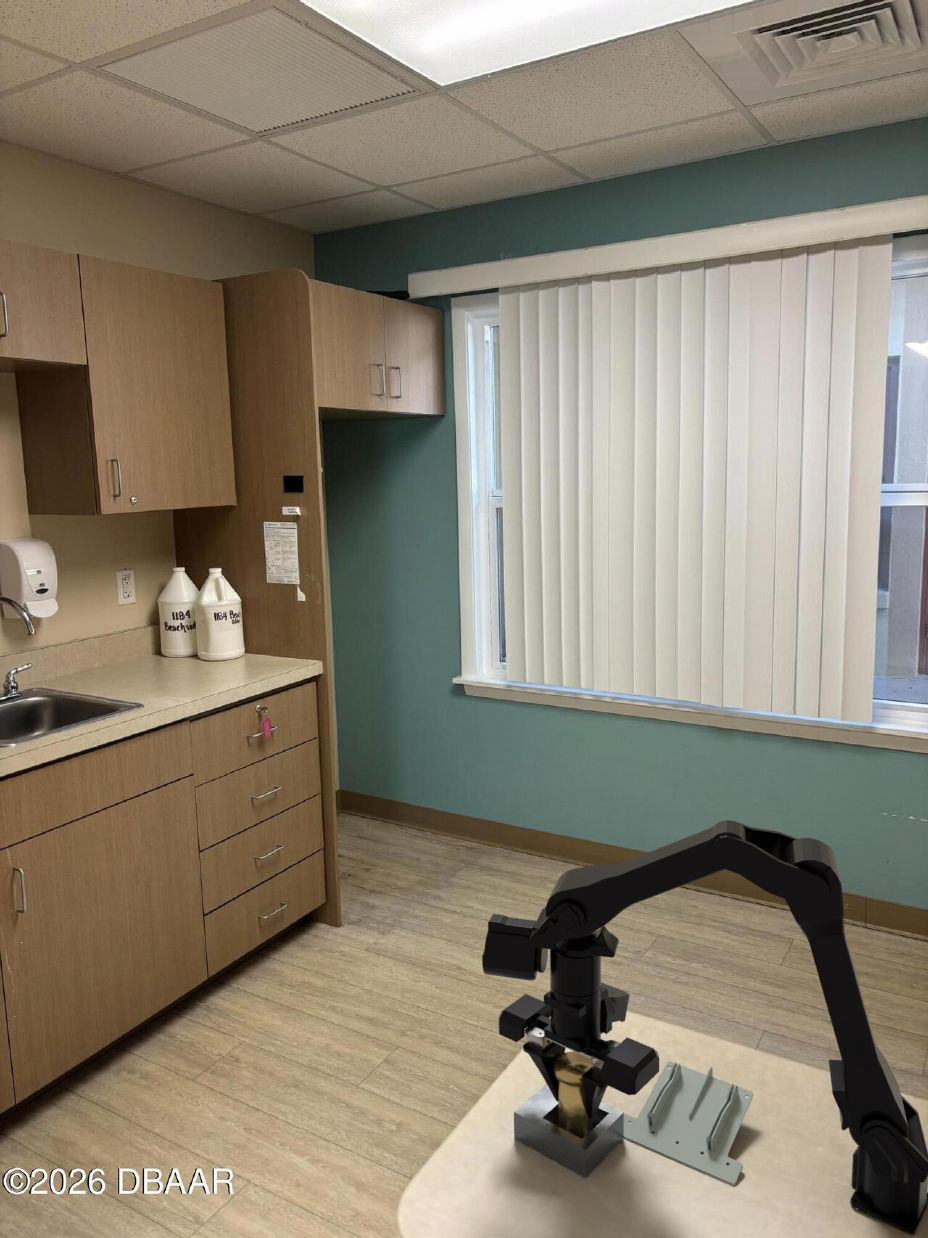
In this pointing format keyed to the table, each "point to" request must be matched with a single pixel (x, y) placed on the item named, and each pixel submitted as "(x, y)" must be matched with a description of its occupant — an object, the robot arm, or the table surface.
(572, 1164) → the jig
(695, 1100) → the metal bracket
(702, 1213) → the table surface
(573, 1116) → the knob
